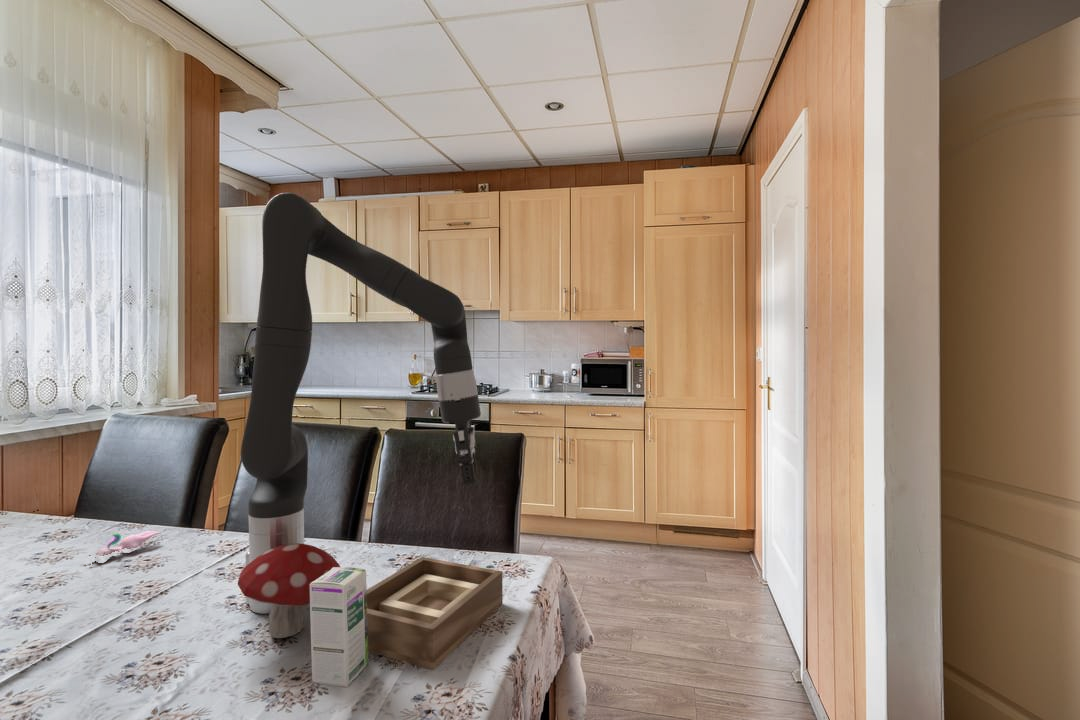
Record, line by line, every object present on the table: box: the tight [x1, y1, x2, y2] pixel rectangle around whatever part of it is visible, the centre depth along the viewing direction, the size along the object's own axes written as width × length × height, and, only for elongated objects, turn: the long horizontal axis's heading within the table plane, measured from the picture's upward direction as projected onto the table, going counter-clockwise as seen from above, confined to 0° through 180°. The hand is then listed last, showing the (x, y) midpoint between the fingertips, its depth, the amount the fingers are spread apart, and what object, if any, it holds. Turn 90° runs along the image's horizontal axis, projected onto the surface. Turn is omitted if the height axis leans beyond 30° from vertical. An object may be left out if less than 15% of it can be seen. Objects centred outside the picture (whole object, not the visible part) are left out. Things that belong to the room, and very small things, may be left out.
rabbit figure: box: [88, 530, 162, 558], centre depth 122 cm, size 6×6×15 cm
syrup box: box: [309, 566, 369, 688], centre depth 76 cm, size 6×6×14 cm
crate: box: [367, 556, 503, 671], centre depth 91 cm, size 18×22×6 cm
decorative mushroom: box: [237, 543, 341, 639], centre depth 87 cm, size 16×16×15 cm
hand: (470, 478), depth 101 cm, fingers open, 8 cm apart
